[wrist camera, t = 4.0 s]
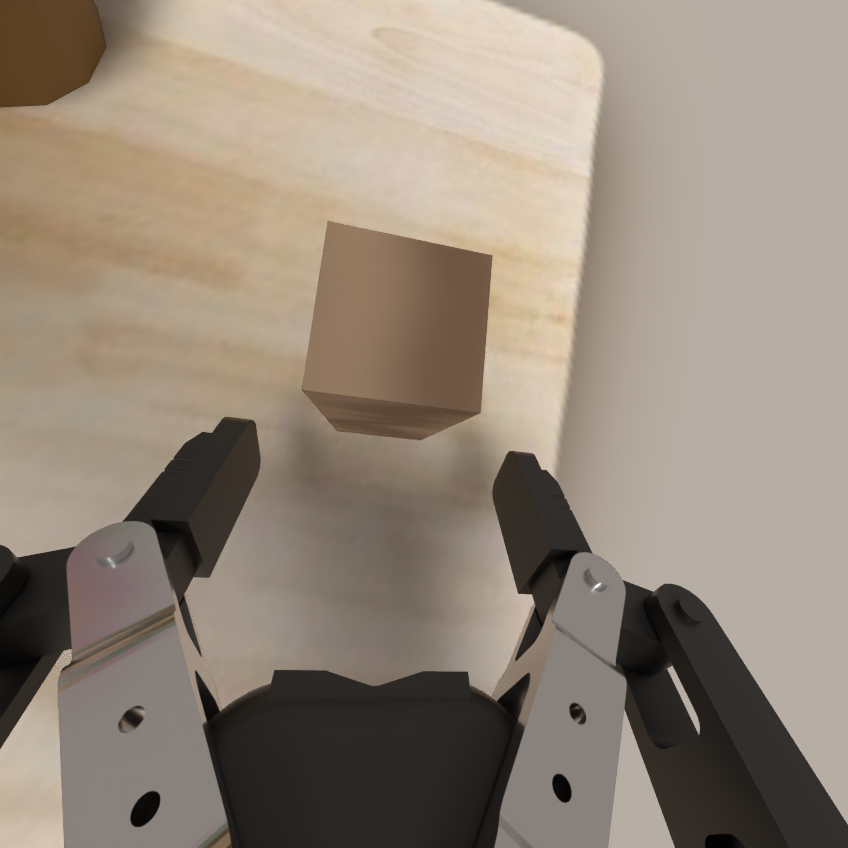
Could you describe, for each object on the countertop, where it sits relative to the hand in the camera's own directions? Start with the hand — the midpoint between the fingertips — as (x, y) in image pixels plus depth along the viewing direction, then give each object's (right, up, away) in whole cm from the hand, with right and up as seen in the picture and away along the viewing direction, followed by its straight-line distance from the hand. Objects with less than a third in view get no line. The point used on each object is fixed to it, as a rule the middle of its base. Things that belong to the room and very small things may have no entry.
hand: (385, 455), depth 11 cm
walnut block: (-1, +3, +10) cm, 10 cm away
